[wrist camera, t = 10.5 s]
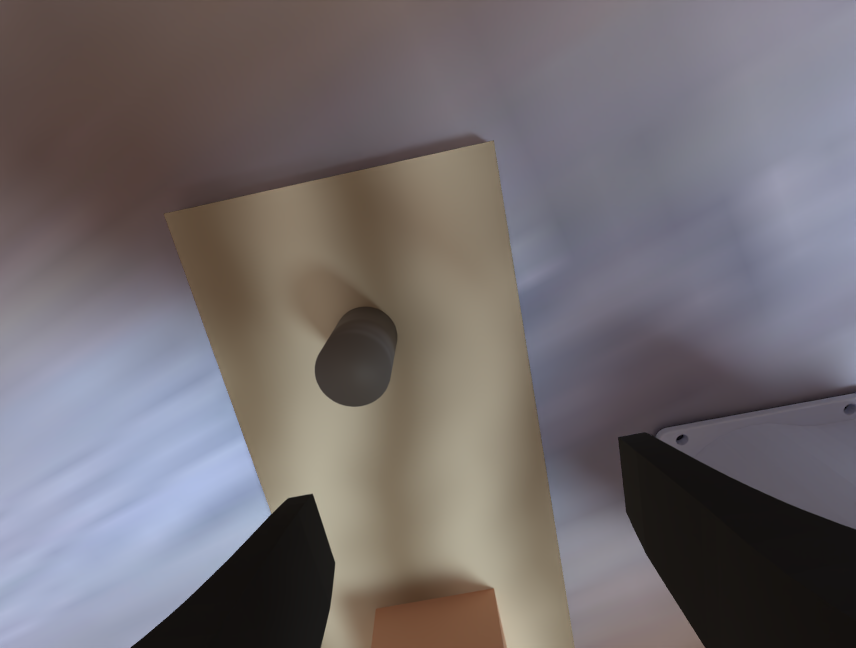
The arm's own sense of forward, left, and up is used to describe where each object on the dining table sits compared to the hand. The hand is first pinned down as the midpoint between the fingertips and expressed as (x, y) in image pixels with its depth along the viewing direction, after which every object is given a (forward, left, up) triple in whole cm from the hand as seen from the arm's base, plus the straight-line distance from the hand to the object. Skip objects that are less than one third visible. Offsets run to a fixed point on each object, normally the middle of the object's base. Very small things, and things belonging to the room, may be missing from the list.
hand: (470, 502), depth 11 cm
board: (+3, +6, -9) cm, 12 cm away
